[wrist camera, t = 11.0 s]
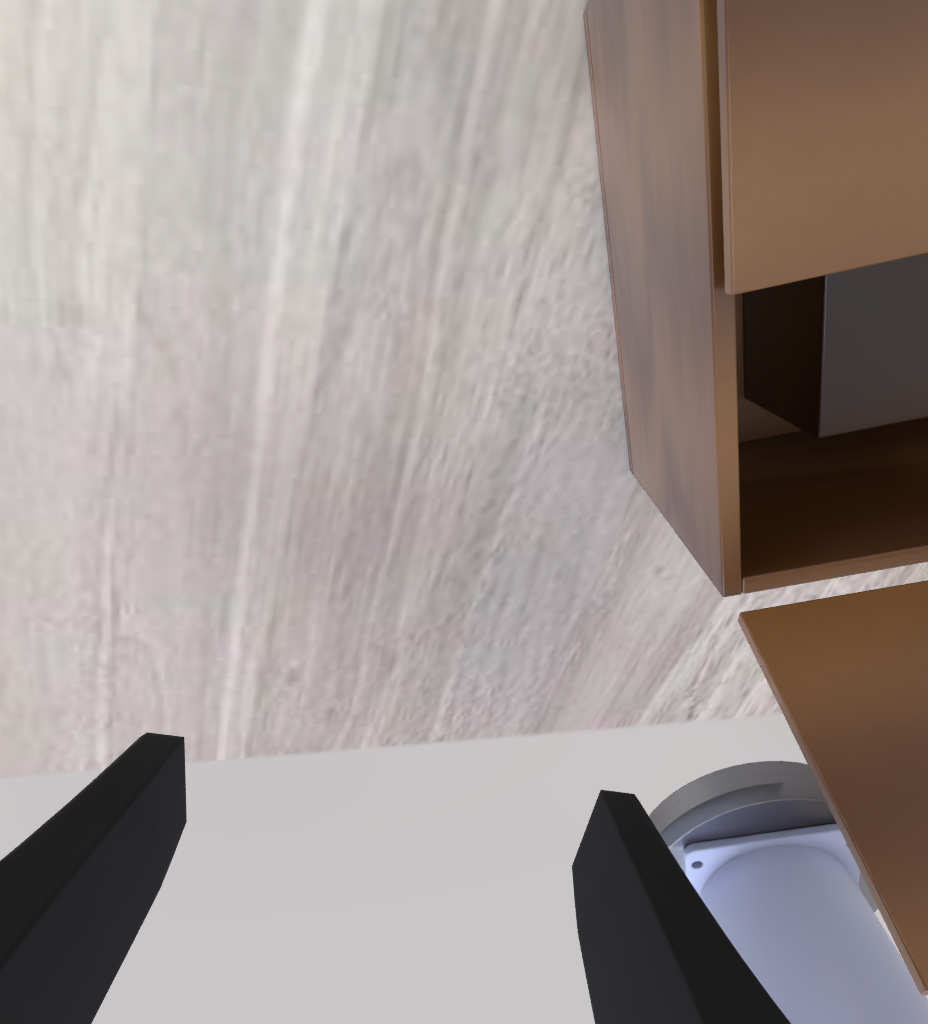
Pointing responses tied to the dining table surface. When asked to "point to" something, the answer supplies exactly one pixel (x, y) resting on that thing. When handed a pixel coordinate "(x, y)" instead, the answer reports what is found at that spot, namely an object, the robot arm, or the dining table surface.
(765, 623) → the flap
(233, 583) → the dining table surface
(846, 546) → the carton
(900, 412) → the block
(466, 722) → the dining table surface
